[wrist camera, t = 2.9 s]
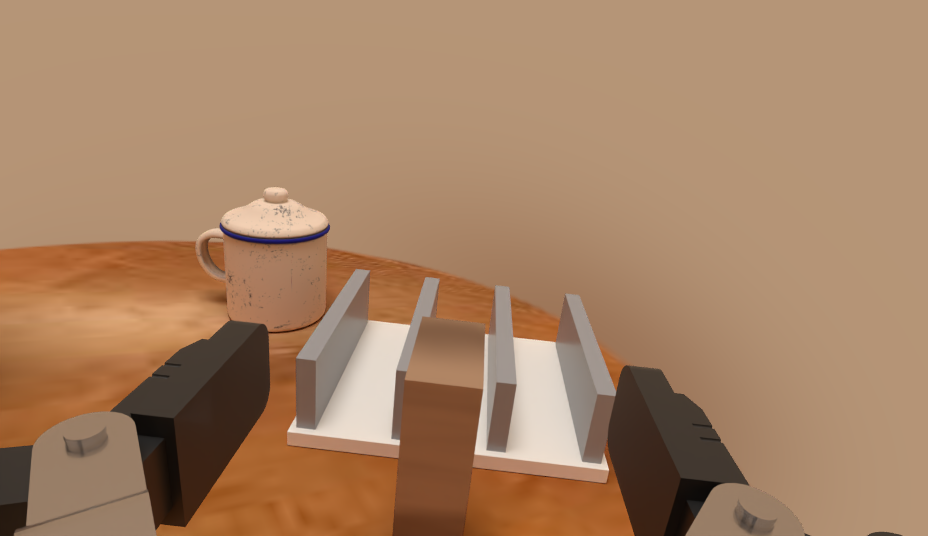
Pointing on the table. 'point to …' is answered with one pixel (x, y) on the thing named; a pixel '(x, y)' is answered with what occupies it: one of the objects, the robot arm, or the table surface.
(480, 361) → the walnut board
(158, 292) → the table surface
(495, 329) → the rack
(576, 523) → the table surface
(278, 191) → the teacup with lid
